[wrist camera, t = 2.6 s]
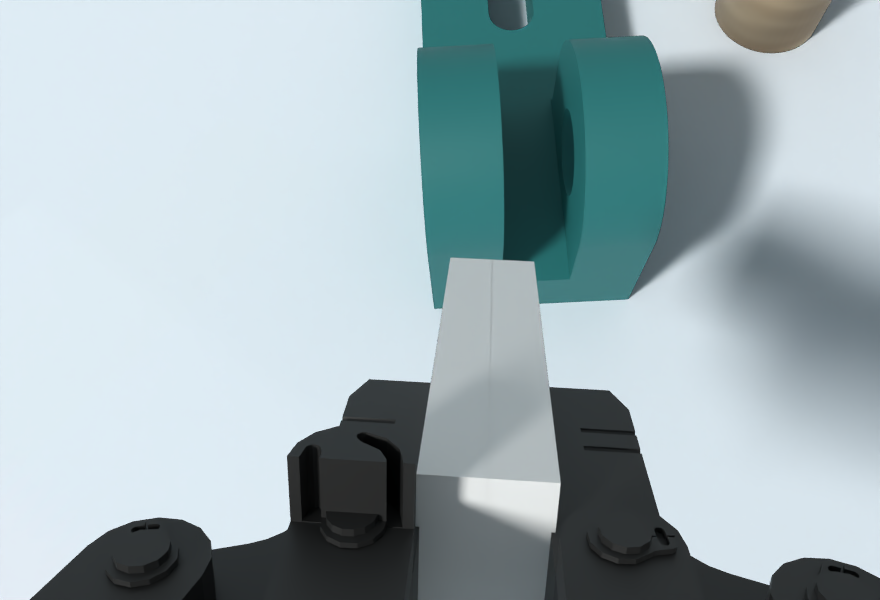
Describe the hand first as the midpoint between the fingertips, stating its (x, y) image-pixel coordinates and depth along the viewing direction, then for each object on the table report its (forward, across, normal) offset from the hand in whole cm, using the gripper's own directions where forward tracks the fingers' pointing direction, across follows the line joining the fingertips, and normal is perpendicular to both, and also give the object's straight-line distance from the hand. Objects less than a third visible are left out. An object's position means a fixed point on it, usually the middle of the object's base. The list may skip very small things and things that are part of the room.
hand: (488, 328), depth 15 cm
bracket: (+19, +1, +1) cm, 19 cm away
